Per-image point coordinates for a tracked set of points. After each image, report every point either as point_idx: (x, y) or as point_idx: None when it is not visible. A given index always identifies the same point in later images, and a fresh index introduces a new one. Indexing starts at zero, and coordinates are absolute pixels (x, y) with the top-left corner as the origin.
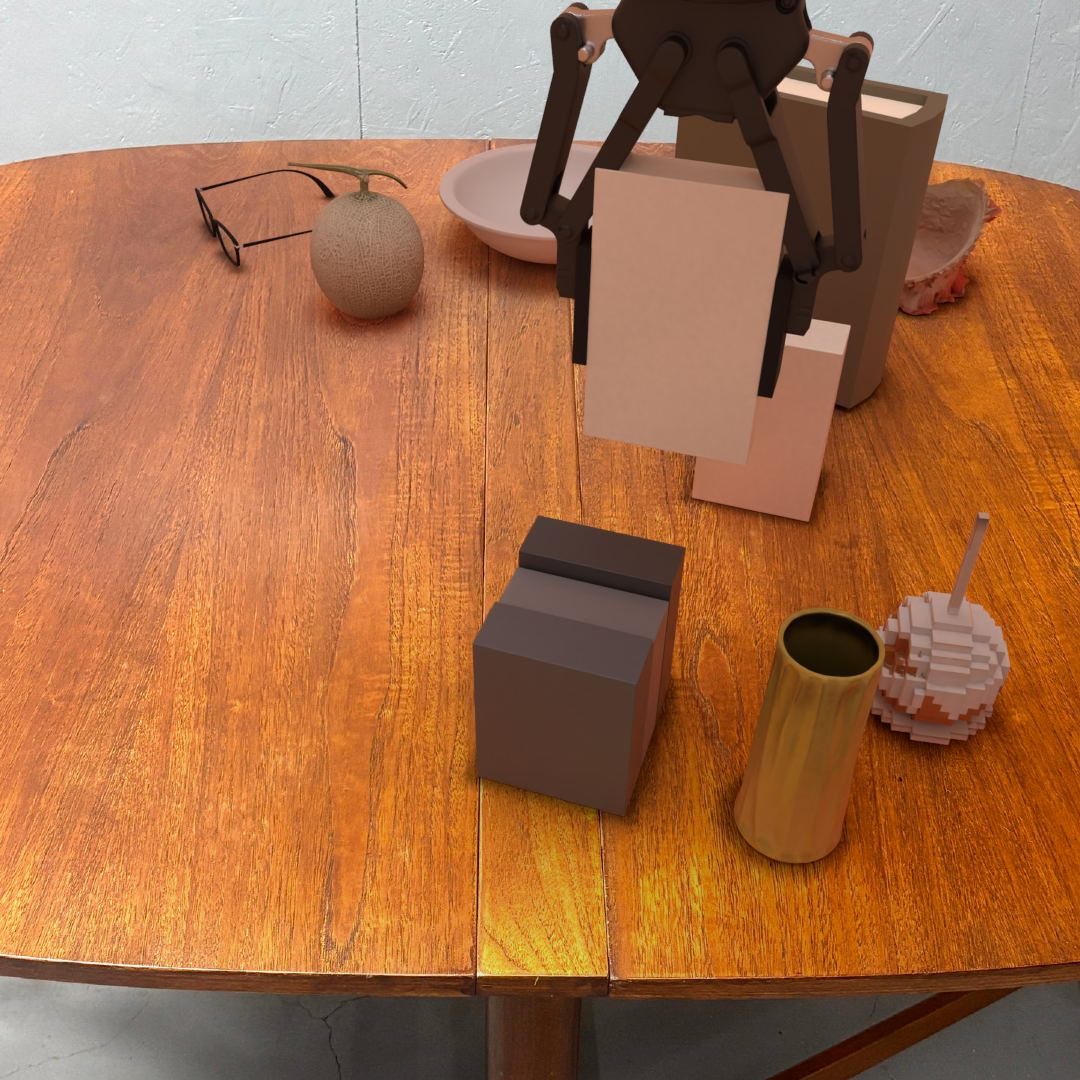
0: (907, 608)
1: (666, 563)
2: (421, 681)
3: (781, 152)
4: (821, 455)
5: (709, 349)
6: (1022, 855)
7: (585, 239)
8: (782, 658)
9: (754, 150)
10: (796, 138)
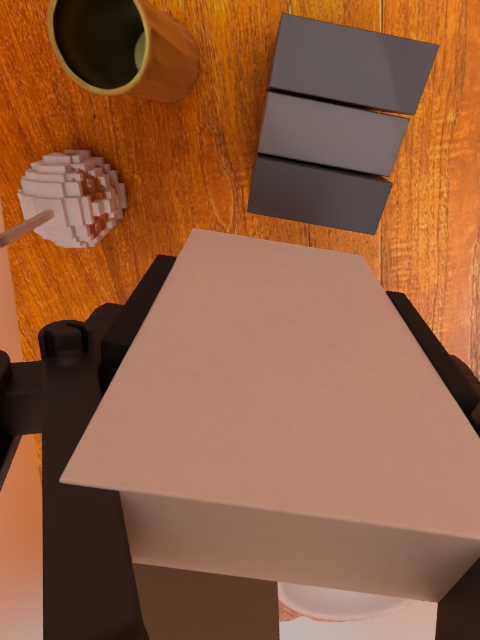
0: (86, 223)
1: (262, 187)
2: (425, 154)
3: (44, 607)
4: None
5: (237, 291)
6: (10, 58)
7: None
8: (143, 6)
9: (130, 612)
10: (186, 630)
